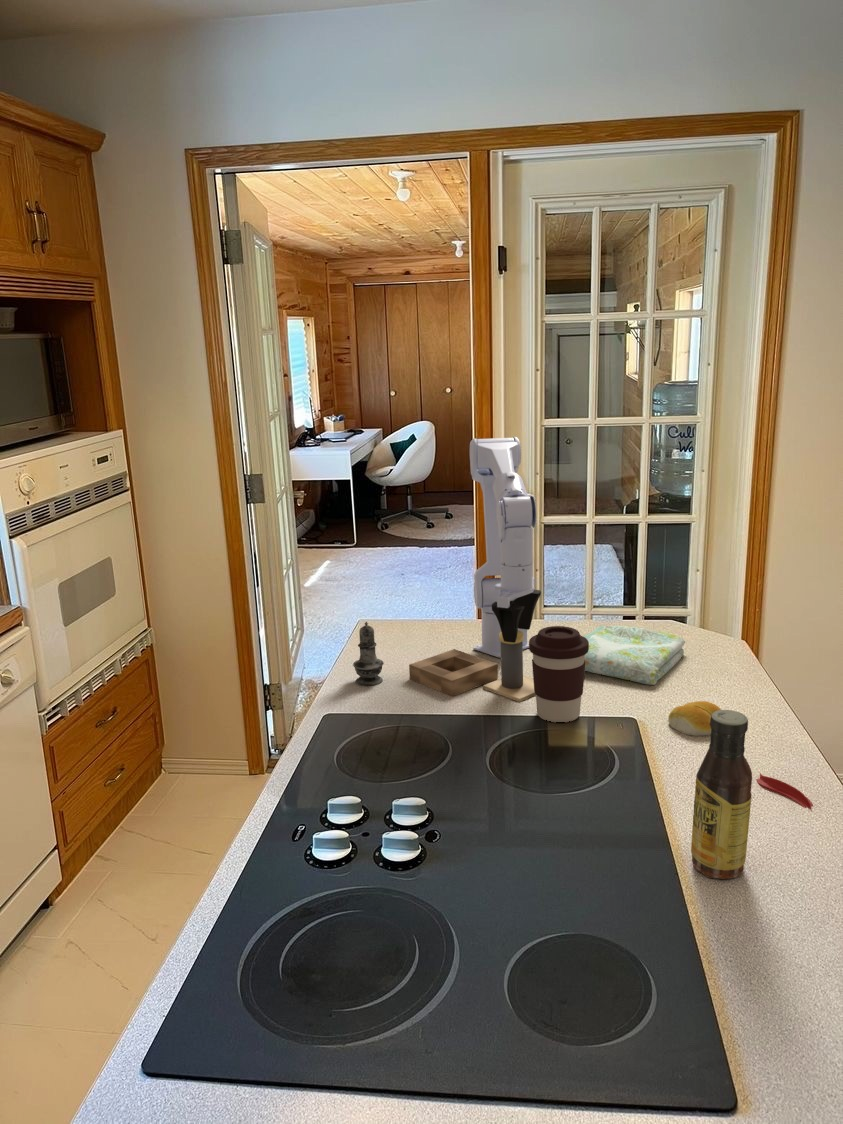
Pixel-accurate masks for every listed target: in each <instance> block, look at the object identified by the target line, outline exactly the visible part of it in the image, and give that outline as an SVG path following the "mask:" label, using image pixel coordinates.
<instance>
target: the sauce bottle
mask: <svg viewBox="0 0 843 1124" xmlns="http://www.w3.org/2000/svg"><path fill="white" fill-rule="evenodd" d="M710 727H711V734H710V739H709V740H710V742H709V746H708V748H707V749H708V750H707V752H706V754H705V756H704V758H703V760H702V762H701V765H700V766H699V769H698V770H697V773H696V777H695V785H694V786H695V788H694V789H695V791H694V800H693V814H692V830H691V834H692V835H691V843H690V851H691V852H690V853H691V858H692V859H691V862H692V865H693V867H694V868H695V869H696V870H697V871H699V872H700V873H701V874H703V875H704V876H706V877H707V878H710V879H719V880H731V879H735V878H737V877H739V876H740V875H742V873H743V871H744V869H745V867H744V865H745V863H746V859H747V850H748V849H747V848H748V847H747V846H748V840H749V826H750V817H751V816H750V815H751V807H752V806H751V804H752V783H753V772H752V768H751V766H750V764H749V762H748V760H747V758H746V756H745V751H746V750H745V749H746V747H745V741H746V740H745V739H746V733H747V731H748V730H749V719H748V717H747V716H746V715H745V714H743V713H742V712H740V711H737V710H736V711H735V710H731V709H721V710H718V711H715V712H714V713H712V715H711V719H710Z"/></svg>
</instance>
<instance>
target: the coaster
mask: <svg viewBox="0 0 843 1124" xmlns="http://www.w3.org/2000/svg"><path fill="white" fill-rule="evenodd" d="M482 686H483V689H484V690H487V691H489V692H492V693H495V694H497V695H499V696H502V697H505V698H507V699H510V700H514V701H516V702H518V703H519V702H523V701H525V700H528V699H530V698H532V697H534V696H535V697H536V694H535V692H534V681H533V677H530V676H527V675H524V674H523V686H522V687H520V688H516V689H509V688H505V687H503V686H502V681H501V678H498V679H495V680H493V681H490V682H488V683H485V684H482Z"/></svg>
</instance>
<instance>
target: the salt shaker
mask: <svg viewBox="0 0 843 1124" xmlns="http://www.w3.org/2000/svg"><path fill="white" fill-rule="evenodd" d="M368 624H369V623H368V622H367V621H365V623H364V625H363V626H362V627H360V629H359V634H358V635H359V643H358V645H357V647H359V658H358V660H356V661H354V662H353V663H352V666H353V668H354V670H355V672H356V674H357V675H358V676H359V677H357V678H356V679H355V684H356V685H358V686H361V687H374V686H377V685H380V684H381V683H383V681H384V679H383V677H382V676H380V674H381V672H382V669H383V666H384V663H385V662H384V661H383V660H382V659H379V658H378V657H377V654H376V647H377V642H375V629H374V628H373V626H370V625H368Z"/></svg>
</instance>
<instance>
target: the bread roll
mask: <svg viewBox="0 0 843 1124" xmlns="http://www.w3.org/2000/svg"><path fill="white" fill-rule="evenodd" d="M718 710H722V709H721V708H720V707H719V706H718V705H717V704H715V703H713V702H711V701H705V700H702V701H692V702H687V703H685V704H684V705H679V706H676V707H674V708H673V709H672V710H670V712H669V715H668V719H667V721H668V723H669V725H670V727H671V729H674V730H676V731H678V732H680V733H682V734H685V735H688V736H693V737H696V736H698V737H701V736H702V737H703V736H711V727H710V719H711V715H712V713H714V712H715V711H718Z"/></svg>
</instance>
